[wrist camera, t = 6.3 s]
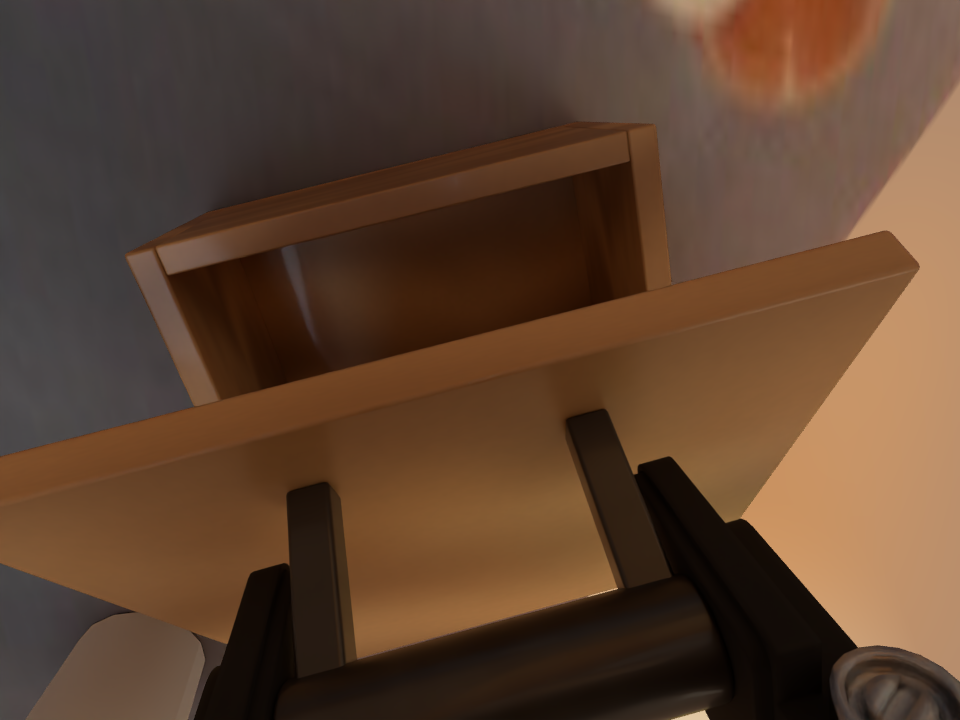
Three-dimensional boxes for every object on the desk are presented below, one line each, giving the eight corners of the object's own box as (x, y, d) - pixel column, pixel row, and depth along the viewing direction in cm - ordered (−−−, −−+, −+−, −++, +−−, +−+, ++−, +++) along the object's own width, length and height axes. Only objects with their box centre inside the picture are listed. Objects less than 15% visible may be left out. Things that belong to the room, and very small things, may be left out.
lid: (-82, 475, 8) (-247, 972, 5) (889, 226, 9) (1196, 568, 6) (303, 647, 21) (313, 828, 18) (698, 540, 21) (769, 700, 18)
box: (205, 212, 22) (122, 254, 15) (579, 120, 22) (656, 122, 16) (327, 519, 28) (305, 649, 21) (625, 440, 28) (697, 543, 21)
